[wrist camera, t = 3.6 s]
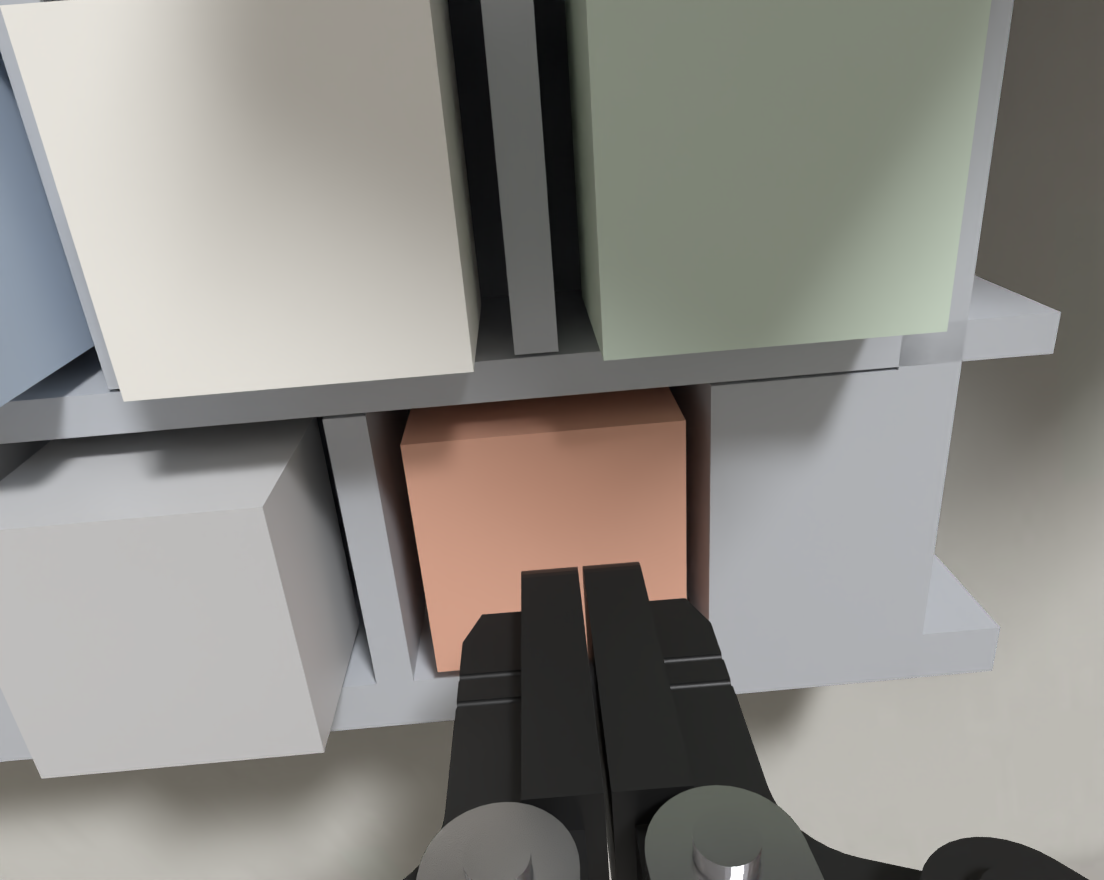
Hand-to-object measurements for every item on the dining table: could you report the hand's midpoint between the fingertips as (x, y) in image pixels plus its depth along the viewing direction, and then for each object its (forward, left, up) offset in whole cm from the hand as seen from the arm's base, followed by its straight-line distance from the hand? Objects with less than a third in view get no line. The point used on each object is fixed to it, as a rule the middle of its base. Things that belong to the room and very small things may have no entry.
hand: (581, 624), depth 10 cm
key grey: (+6, 0, -3) cm, 7 cm away
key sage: (-2, -5, -3) cm, 7 cm away
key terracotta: (0, 0, -5) cm, 5 cm away
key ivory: (+3, -5, -3) cm, 7 cm away
